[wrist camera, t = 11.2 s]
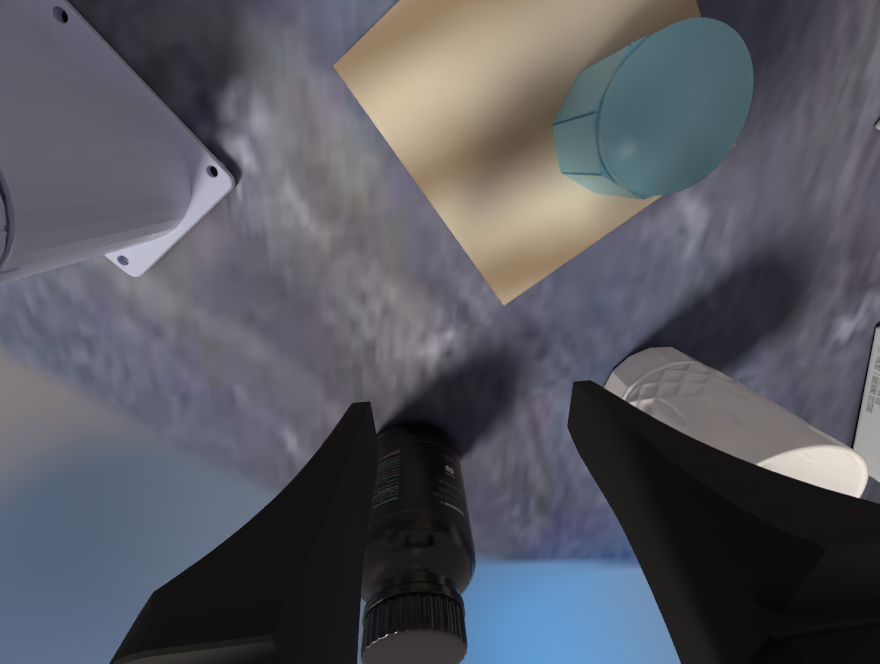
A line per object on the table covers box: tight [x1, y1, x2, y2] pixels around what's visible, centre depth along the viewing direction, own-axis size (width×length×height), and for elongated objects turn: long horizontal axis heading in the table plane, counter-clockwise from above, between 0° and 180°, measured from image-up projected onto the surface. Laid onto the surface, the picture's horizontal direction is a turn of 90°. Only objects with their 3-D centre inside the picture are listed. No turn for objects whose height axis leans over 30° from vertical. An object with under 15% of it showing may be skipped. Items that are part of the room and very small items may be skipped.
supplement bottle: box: [361, 422, 476, 664], centre depth 21 cm, size 7×7×12 cm
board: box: [334, 0, 736, 305], centre depth 16 cm, size 14×14×1 cm
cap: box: [552, 17, 754, 200], centre depth 14 cm, size 5×5×5 cm
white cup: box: [604, 347, 869, 498], centre depth 20 cm, size 8×8×10 cm
